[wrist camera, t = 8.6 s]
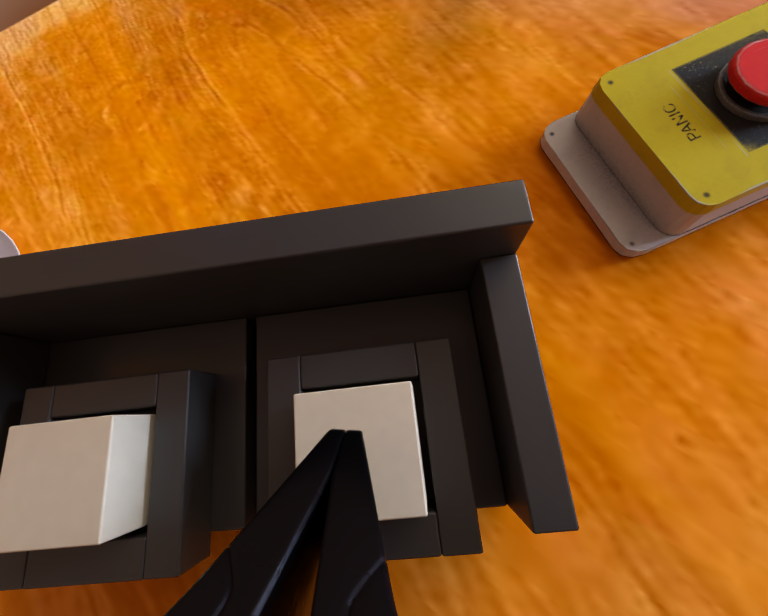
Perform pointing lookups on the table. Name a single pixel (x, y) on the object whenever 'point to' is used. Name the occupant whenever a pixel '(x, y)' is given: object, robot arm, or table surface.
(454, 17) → the table surface
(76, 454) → the key
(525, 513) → the black hollow block
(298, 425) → the key
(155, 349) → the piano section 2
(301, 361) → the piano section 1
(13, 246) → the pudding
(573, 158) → the emergency button
